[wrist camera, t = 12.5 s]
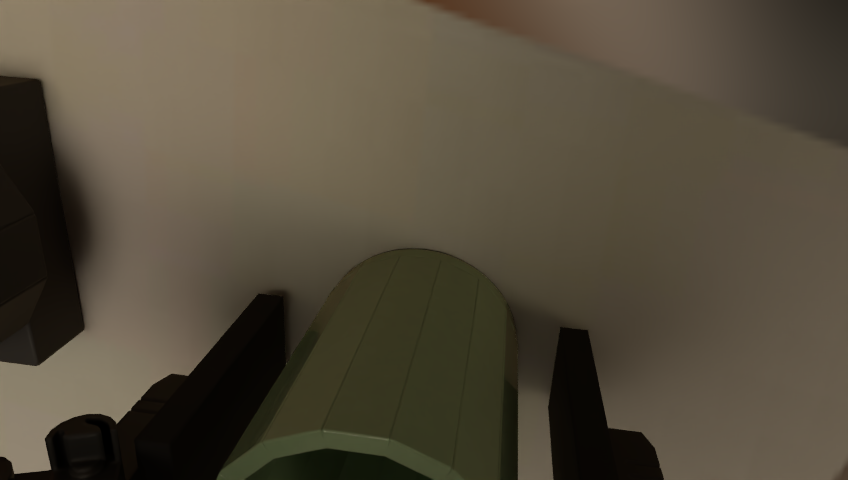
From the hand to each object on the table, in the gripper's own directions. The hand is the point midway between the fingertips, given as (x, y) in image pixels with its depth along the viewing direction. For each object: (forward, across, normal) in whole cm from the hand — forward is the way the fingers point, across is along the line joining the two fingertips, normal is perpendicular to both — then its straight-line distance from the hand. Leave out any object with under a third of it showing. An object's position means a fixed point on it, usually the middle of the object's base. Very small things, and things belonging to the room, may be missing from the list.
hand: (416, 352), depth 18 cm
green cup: (0, 0, 0) cm, 0 cm away
